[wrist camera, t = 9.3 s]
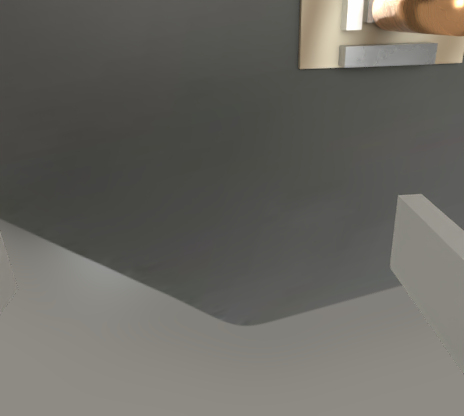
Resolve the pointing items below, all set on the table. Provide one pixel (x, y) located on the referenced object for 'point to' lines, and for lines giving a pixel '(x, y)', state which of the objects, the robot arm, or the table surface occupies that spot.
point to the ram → (417, 16)
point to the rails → (379, 45)
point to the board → (356, 36)
